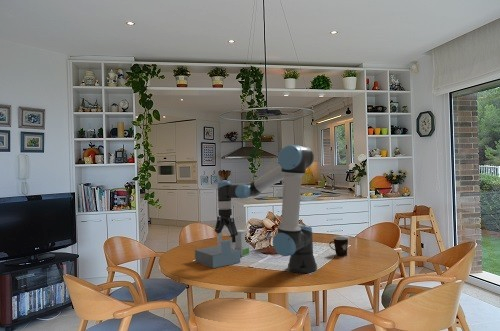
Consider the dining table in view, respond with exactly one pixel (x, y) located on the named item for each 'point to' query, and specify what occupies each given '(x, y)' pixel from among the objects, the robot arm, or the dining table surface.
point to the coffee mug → (340, 245)
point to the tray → (226, 255)
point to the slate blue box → (208, 255)
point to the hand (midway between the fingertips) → (226, 246)
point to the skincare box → (242, 243)
